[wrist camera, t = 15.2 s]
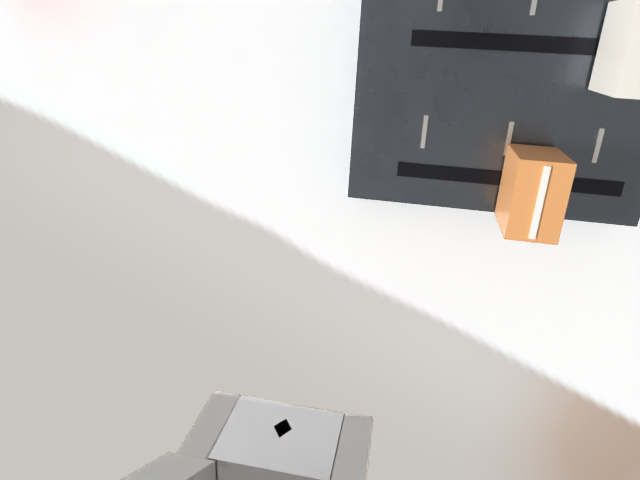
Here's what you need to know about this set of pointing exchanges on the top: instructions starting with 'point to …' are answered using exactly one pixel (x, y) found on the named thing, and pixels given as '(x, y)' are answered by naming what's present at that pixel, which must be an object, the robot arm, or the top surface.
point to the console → (488, 104)
